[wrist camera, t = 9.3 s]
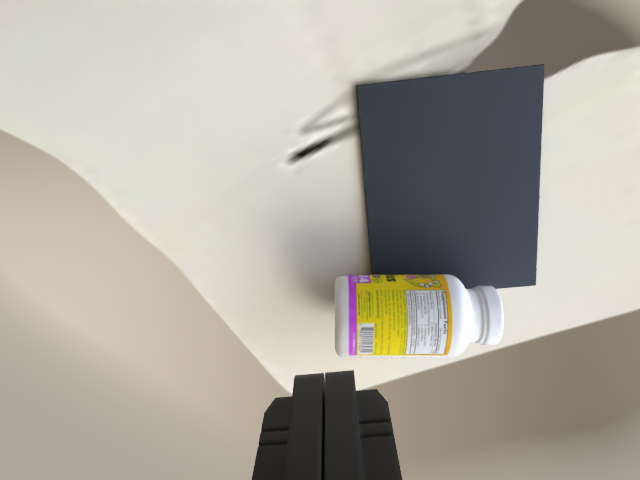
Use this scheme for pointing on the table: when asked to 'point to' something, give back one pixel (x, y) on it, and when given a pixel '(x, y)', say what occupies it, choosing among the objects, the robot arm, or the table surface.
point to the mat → (454, 175)
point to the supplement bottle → (413, 315)
